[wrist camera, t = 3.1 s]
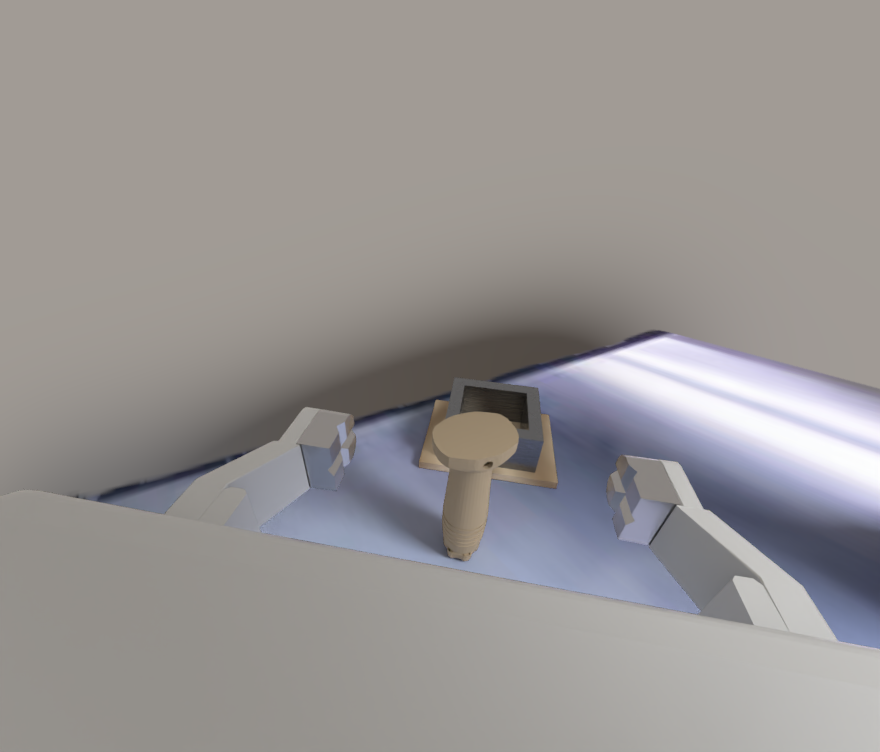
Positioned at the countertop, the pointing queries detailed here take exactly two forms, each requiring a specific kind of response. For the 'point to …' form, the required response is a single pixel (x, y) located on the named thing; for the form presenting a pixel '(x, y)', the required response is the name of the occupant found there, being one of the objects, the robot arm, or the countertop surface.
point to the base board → (541, 477)
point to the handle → (470, 473)
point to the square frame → (504, 414)
